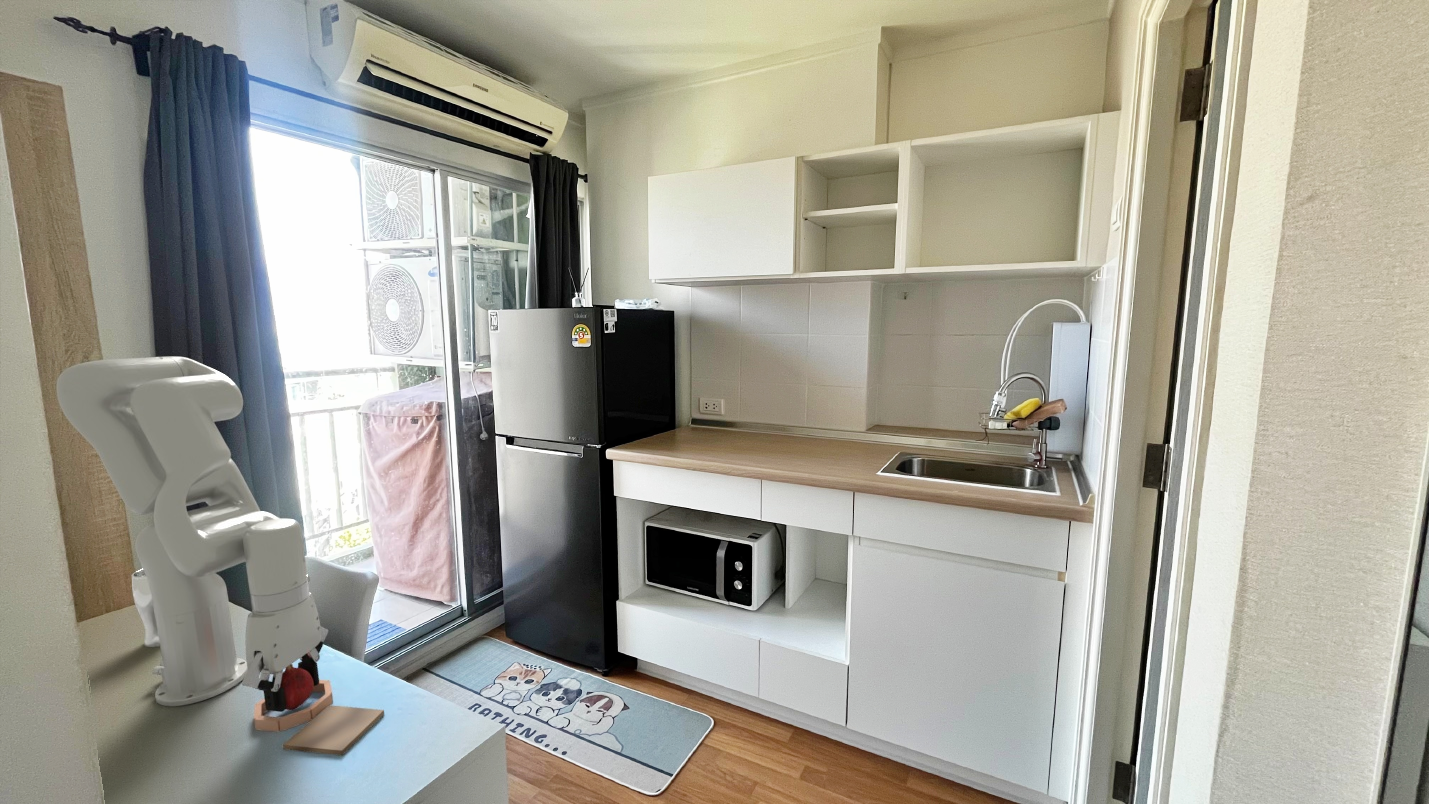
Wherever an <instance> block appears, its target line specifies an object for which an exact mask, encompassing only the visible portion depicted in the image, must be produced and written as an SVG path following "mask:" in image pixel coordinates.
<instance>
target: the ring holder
mask: <svg viewBox="0 0 1429 804" xmlns="http://www.w3.org/2000/svg"><path fill="white" fill-rule="evenodd" d="M312 693H320V694H321V693H323V695H322V696H321V697H320V698H318V699H317V700H316V701H315V702H314V703H312V704H311V705H310V706H308V707H307V708H304V709H302V710H299V711H296V712H293V713H290V714H287V715H284V716H279V717H278V716H268V715H264V714H265V713H266V712H267V711H268V710H266V706H265V698H262V699H261V700H259V701H258V702H257V703H256V704H255V705H254V706H253V707H254V712H253V723H254V728H255V730H257V731H266V732H277V733H278V732H283V731H286V730H288V729H292V728H293V727H297V726H300V725H303V724H307V723H309V722H310V721H311V720H312V719H313V718H315V717H316V716H317V715H318V714H319V713H321V712H322V711H323V710H324V709H325V708H327V707H328V706H329V705H333V703H334V699H333V698H334V697H333V691H332V685H331V681H330V680H327V679H319V684H318V685H316V686H313V690H312Z"/></svg>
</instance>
